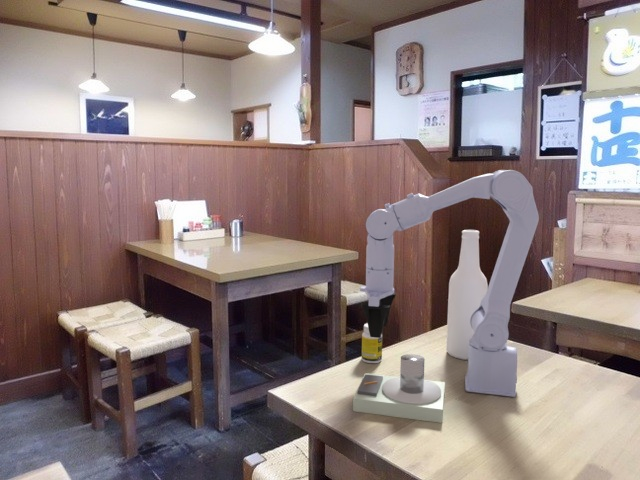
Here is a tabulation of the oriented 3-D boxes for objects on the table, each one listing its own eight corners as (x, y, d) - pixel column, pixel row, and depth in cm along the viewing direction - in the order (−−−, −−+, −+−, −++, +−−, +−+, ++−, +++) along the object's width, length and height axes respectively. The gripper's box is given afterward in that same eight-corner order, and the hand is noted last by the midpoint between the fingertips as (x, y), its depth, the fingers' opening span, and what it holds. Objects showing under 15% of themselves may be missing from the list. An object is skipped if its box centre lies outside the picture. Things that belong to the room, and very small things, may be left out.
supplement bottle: (380, 364, 116) (381, 329, 115) (360, 363, 117) (360, 327, 116) (382, 357, 121) (383, 322, 120) (362, 355, 122) (363, 321, 121)
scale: (444, 394, 101) (445, 378, 101) (442, 422, 90) (442, 405, 89) (364, 384, 106) (365, 369, 105) (352, 411, 94) (353, 394, 94)
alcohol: (483, 349, 126) (489, 229, 122) (484, 362, 118) (491, 233, 114) (446, 346, 129) (451, 227, 124) (445, 358, 120) (450, 232, 116)
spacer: (424, 385, 98) (425, 355, 97) (422, 395, 94) (423, 363, 93) (401, 382, 100) (402, 353, 99) (398, 392, 95) (399, 361, 94)
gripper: (367, 260, 113) (366, 319, 115) (353, 273, 100) (352, 340, 102) (399, 262, 112) (397, 322, 114) (389, 275, 98) (388, 343, 100)
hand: (378, 331), depth 107 cm, fingers open, 7 cm apart
